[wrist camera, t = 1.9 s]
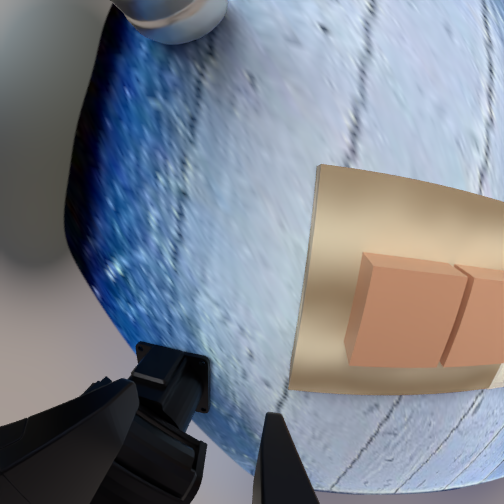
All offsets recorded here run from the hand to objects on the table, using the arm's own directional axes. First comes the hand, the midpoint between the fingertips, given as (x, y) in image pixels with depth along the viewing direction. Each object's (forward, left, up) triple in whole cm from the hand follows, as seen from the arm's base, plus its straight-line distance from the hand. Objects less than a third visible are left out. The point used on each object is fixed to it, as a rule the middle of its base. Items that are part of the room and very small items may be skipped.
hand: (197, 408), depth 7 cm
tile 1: (0, -8, -10) cm, 13 cm away
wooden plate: (0, -11, -13) cm, 17 cm away
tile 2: (0, -14, -10) cm, 17 cm away
